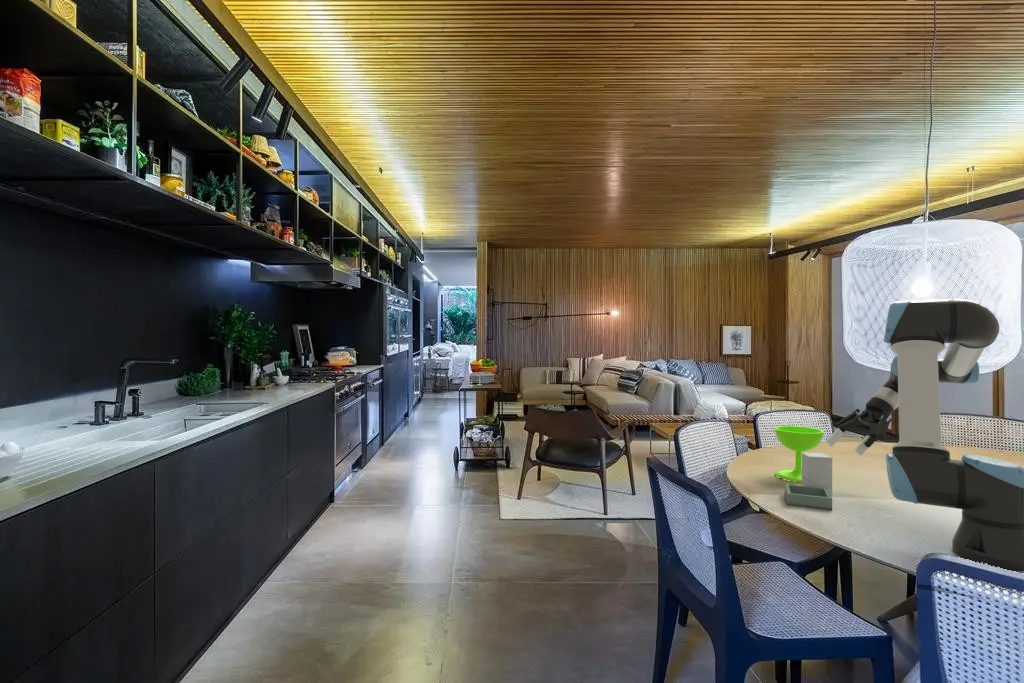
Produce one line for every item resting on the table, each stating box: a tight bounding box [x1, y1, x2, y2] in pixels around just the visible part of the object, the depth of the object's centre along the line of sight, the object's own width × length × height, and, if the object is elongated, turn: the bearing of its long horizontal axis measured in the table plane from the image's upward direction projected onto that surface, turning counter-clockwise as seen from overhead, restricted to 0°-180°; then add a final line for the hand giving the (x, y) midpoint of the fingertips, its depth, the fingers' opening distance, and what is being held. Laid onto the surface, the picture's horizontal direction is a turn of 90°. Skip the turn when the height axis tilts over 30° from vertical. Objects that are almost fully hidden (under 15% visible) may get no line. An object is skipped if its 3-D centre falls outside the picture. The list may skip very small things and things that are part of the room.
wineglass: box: [774, 425, 825, 482], centre depth 197 cm, size 16×16×18 cm
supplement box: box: [801, 452, 833, 496], centre depth 179 cm, size 7×7×13 cm
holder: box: [784, 483, 833, 511], centre depth 167 cm, size 12×12×4 cm
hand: (842, 448), depth 180 cm, fingers open, 13 cm apart
